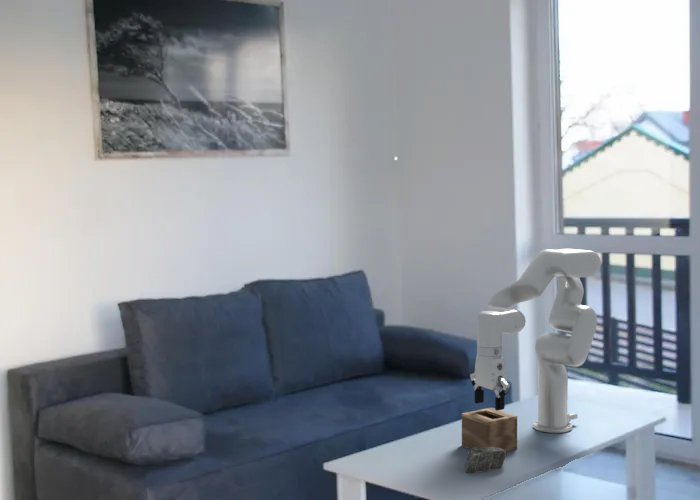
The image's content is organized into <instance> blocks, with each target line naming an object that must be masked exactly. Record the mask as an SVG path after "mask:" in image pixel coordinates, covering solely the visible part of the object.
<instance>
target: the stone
mask: <svg viewBox="0 0 700 500" xmlns="http://www.w3.org/2000/svg"><path fill="white" fill-rule="evenodd" d="M506 457H507V451H504V449H501V448H497V447H479V446H478V447H471V448H469V451H468V454H467V455H466V462H465V466H464V472H465V473H470V474H475V473H479V472H480V473H481V472H488V471H495V470H497V469H501V468H503V465H504V462H505V460H506Z"/></svg>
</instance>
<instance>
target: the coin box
mask: <svg viewBox="0 0 700 500" xmlns="http://www.w3.org/2000/svg"><path fill="white" fill-rule="evenodd" d="M461 446H463V447H465V448H467V449H470V448H471V447H478V446H479V447H497V448H501V449H504V451H506V452H509V451H512V450H516V449H517V450H518V415H515V414H512V413H509V412H506V411H503V410H495V407H487V408H481V409H476V410H473V411H466V412H463V413H461Z"/></svg>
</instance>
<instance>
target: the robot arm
mask: <svg viewBox="0 0 700 500" xmlns="http://www.w3.org/2000/svg"><path fill="white" fill-rule="evenodd" d="M601 264H602V261H601V257H600V255H599V254H598V253H597V252H595V251H593V250H589V249H588V250H587V249H576V248H559V249H549V248H547V249H546V248H545V249H542V250H541V251H539V252H537V254H536V255H535V256H534V258H533V259H532V261H531V262H530V263H529V264H528V267H527V268H526V269H525V271H524V272H523V273H522V275H521V276H520V277H519V279H517V280H515V281H514V282H512V283H510V284H509V285H507V286H505V287H503V288H501V289H500V290H498V291H497V292H495V293H494V294H493V295H492V297H491V298H490V299H489V301H488V302H487V303H486V305H485V307H484V308H483V310H481V311H480V312H478V313H477V317H476V321H477V322H476V331H477V333H476V335H477V336H476V358H475V365H474V372H473V373H470V374H469V377H470V380H471V385H472V386H473V387H472V388H473V391H474V403H475V404H482V403H484V400H485V398H484V395H485V394H484V393H485V392H484V389H487V390H491V391H493V392H494V393H495V396H496V397H495V398H494V400H495V401H494V402H495V403H494V404H495V405H494V409H495V410H500V411H503V410H504V409H505V408H506V407H505V405H506V404H505V401H506V399H505V398H506V397H507V394H508V393H509V390H510V388H511V387H510V386H511V385H510V383H509V382H508V381H507V374H506V373H507V372H506V364H505V358H504V357H503V334H517V333H519V332H521V331H522V330H523V329H524V328H525V326H526V317H525V315H524V313H523V312H522V311H520V310H518V309H515V308H511V307H513V306H514V305H517V304H520V303H523V302H528V301H531V300H535V299H538V298H539V297H540V296H542V295H543V293H544V291H545V290H546V288H547V287H548V286H549V285H550V283H551V282H552V280H553V279H554V278H555V277H556V279H557V289H556V294H555V298H554V301H553V303H552V307H551V310H550V313H549V318H548V323H549V326H550V327H551V328H552V329H554V330H556V331H559V332H564V333H570V334H571V335H567V334H561V333H557V332H556V333H555V332H544V333H543V334H540V335H539V336H538V337H537V339H536V341H535V346H534V350H535V351H534V352H535V356H536V357H535V358H536V361H537V362H536V363H537V374H538V375H537V377H538V378H537V381H538V382H537V383H538V384H537V385H538V386H537V420H535V421H534V422H533V424H532V427H533V428H534V429H535V430H536V431H539V432H543V433H551V434H560V433H561V434H563V433H567V432H570V431H572V429H573V425H572V423H570V422H571V420H577V419H578V414H577V413H575V412H574V413H569V412H568V397H569V396H568V387H569V386H568V382H569V377H568V371H567V368H566V366H570V367H580V366H583V364H584V363H585V362H586V360H587V359H588V356H589V353H590V349H591V346H592V343H593V340H594V337H595V334H596V333H595V332H596V330H597V325H598V317H597V312H596V311H595V309H594V308H593V307H591V306H588V305H583V304H582V302H583V297H584V293H585V291H584V286H583V283H582V281H581V279H580V278H590V277H593V276H595V275H597V273H599V271H600V269H601ZM483 388H484V389H483Z"/></svg>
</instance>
